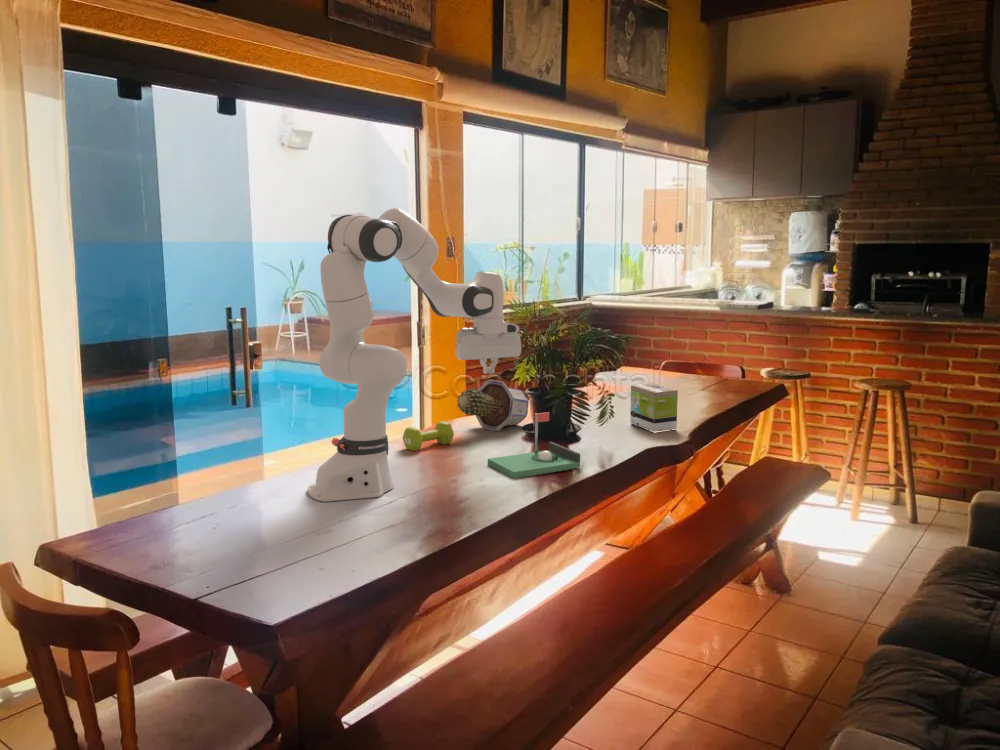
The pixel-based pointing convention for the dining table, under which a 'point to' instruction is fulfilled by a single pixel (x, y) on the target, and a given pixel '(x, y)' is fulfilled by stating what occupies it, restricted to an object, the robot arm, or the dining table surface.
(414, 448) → the dumbbell
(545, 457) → the ball
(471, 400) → the potted plant
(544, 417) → the flag pin
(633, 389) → the tea box
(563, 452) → the mat
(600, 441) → the dining table surface
